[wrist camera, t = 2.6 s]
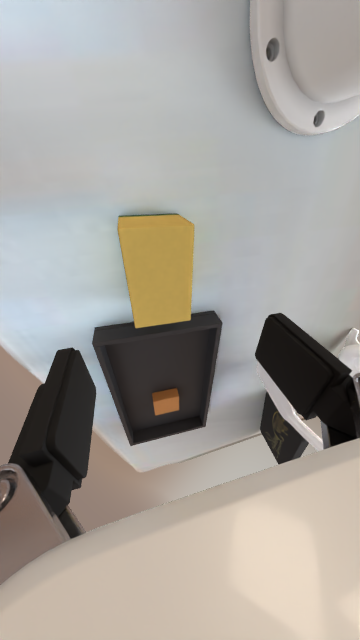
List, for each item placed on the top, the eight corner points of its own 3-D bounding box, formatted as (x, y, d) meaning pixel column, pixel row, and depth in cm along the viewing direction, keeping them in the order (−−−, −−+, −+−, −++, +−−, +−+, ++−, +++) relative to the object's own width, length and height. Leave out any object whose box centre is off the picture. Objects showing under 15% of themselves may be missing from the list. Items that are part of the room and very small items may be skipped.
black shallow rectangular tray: (94, 327, 21) (91, 343, 19) (214, 310, 24) (222, 322, 22) (129, 431, 36) (130, 446, 34) (201, 413, 39) (205, 426, 37)
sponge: (118, 215, 16) (117, 228, 12) (177, 213, 17) (194, 224, 13) (132, 299, 21) (135, 328, 17) (178, 294, 22) (190, 320, 18)
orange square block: (151, 392, 30) (153, 402, 29) (176, 387, 31) (179, 396, 30) (153, 406, 32) (155, 415, 31) (177, 401, 33) (179, 410, 32)
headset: (246, 375, 35) (330, 507, 21) (255, 347, 30) (366, 490, 17) (338, 354, 38) (461, 455, 24) (357, 326, 34) (520, 430, 20)
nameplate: (266, 427, 53) (291, 471, 45) (259, 430, 53) (283, 474, 45) (275, 385, 40) (313, 436, 32) (266, 388, 40) (302, 440, 32)
